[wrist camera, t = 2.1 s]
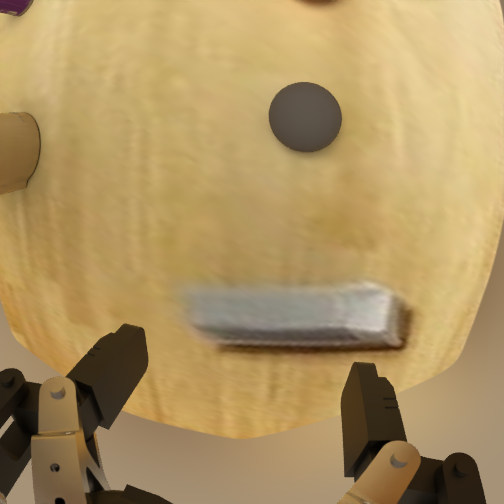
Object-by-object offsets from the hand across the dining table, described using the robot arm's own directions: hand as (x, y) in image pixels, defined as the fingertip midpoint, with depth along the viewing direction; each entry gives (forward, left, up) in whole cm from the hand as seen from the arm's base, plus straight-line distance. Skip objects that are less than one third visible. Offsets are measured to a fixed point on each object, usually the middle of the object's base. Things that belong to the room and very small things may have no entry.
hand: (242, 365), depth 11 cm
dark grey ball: (+10, +2, -15) cm, 18 cm away
